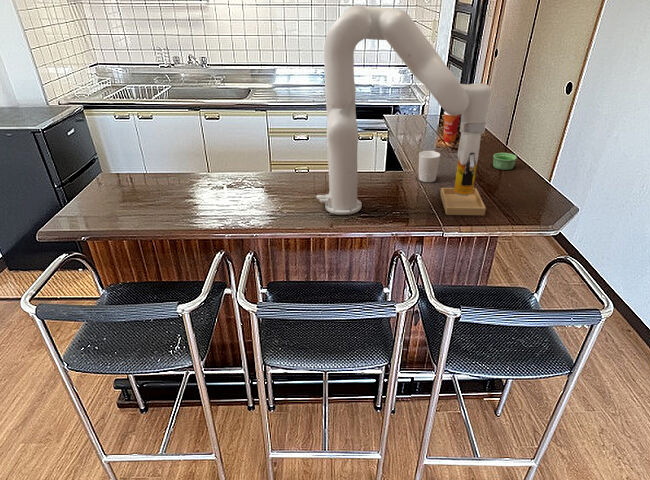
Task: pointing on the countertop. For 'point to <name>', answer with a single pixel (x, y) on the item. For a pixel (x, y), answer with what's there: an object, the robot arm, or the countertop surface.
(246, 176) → the countertop surface
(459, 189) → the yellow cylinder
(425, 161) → the white cup
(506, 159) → the ramekin
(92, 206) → the countertop surface
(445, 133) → the paper cup
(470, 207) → the tray
